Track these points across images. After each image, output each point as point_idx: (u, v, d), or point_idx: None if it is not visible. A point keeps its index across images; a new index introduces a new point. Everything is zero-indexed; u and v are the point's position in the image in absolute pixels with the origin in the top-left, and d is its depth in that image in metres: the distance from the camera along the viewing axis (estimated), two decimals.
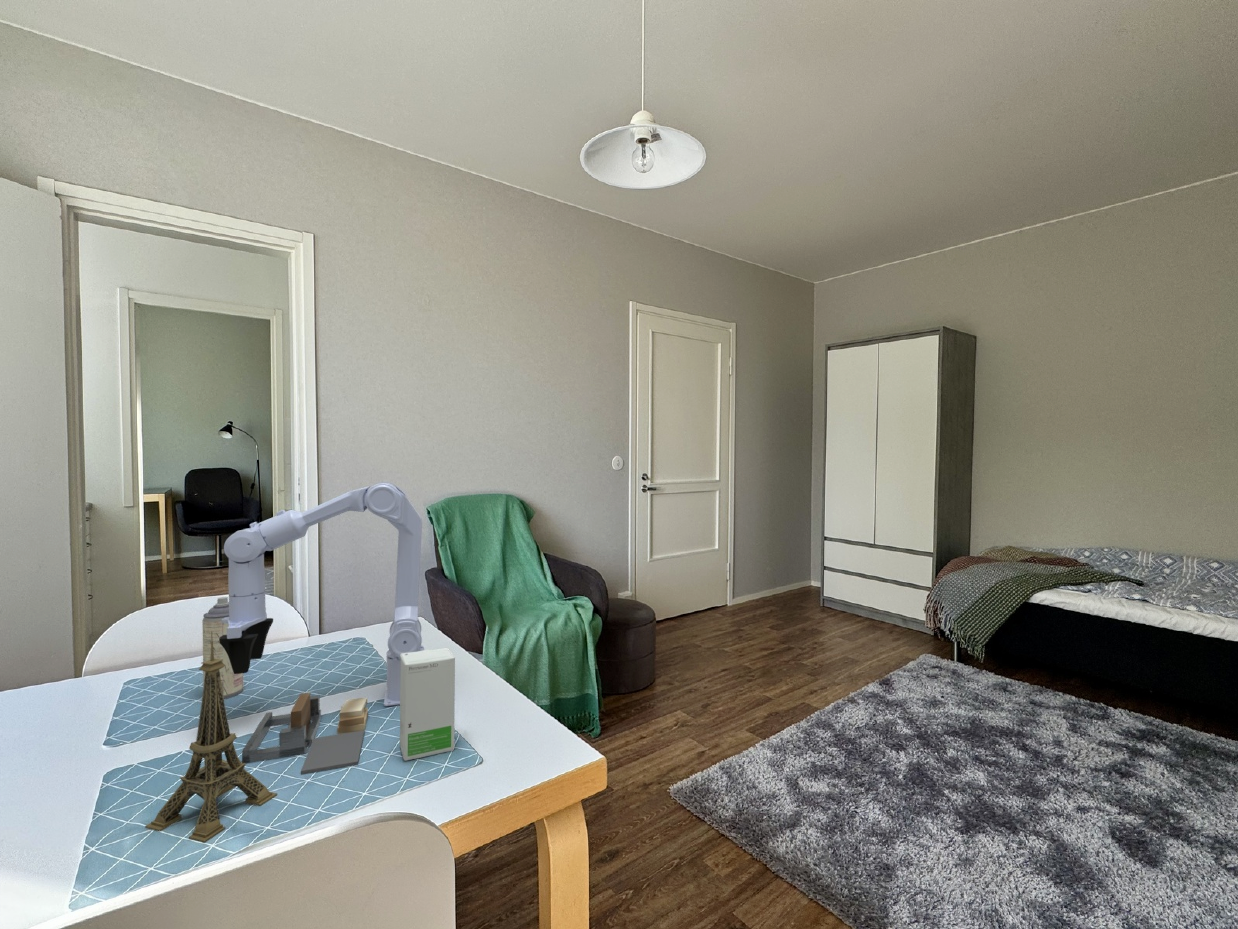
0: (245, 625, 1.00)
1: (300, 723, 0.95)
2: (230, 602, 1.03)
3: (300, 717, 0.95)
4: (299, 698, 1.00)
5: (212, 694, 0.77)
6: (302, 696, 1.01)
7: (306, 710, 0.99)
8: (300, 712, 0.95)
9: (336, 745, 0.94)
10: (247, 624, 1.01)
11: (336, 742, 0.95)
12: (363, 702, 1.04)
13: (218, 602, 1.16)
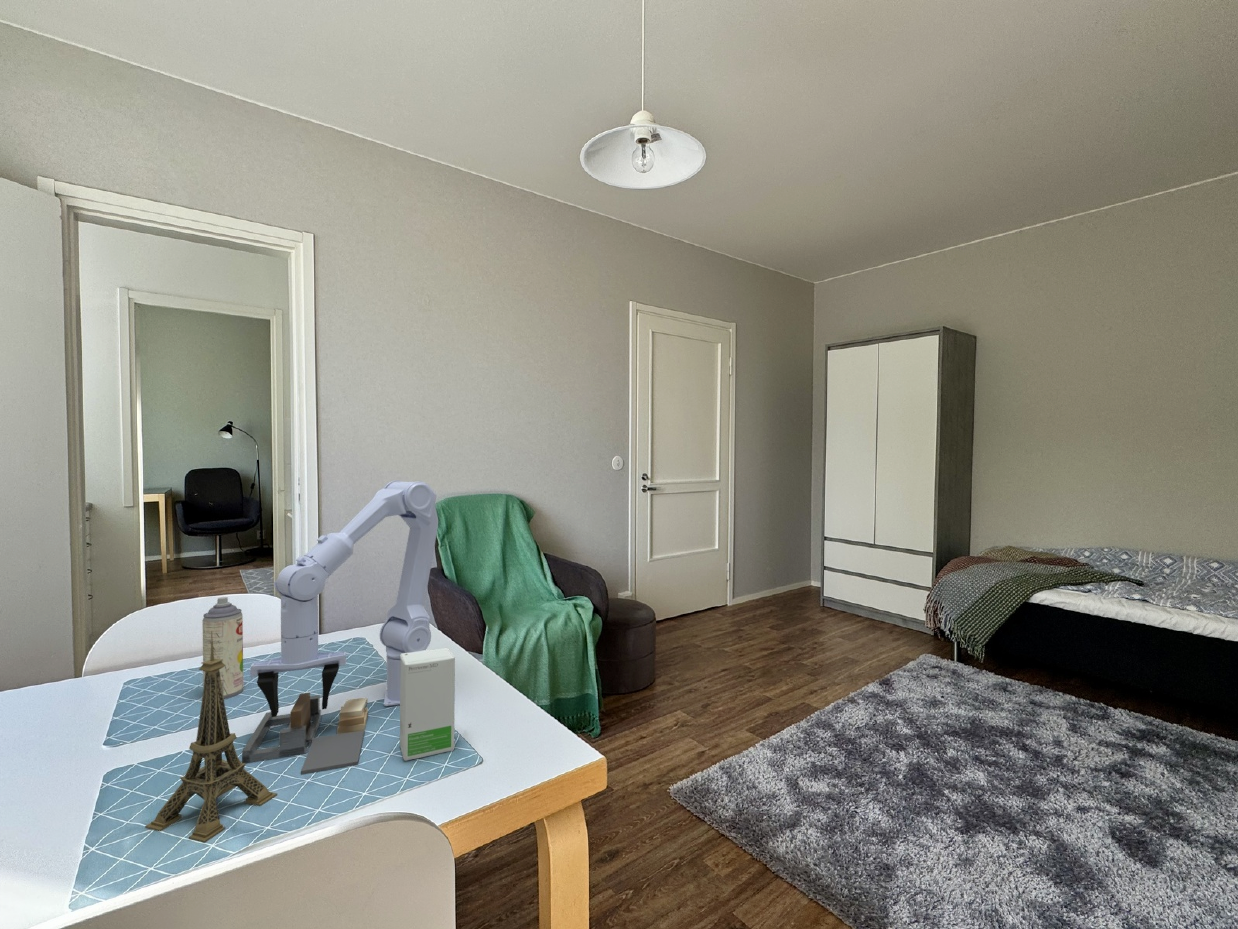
0: (262, 666, 0.95)
1: (300, 723, 0.95)
2: None
3: (300, 717, 0.95)
4: (299, 698, 1.00)
5: (212, 694, 0.77)
6: (302, 696, 1.01)
7: (306, 710, 0.99)
8: (300, 712, 0.95)
9: (336, 745, 0.94)
10: (266, 666, 0.96)
11: (336, 742, 0.95)
12: (363, 702, 1.04)
13: (218, 602, 1.16)
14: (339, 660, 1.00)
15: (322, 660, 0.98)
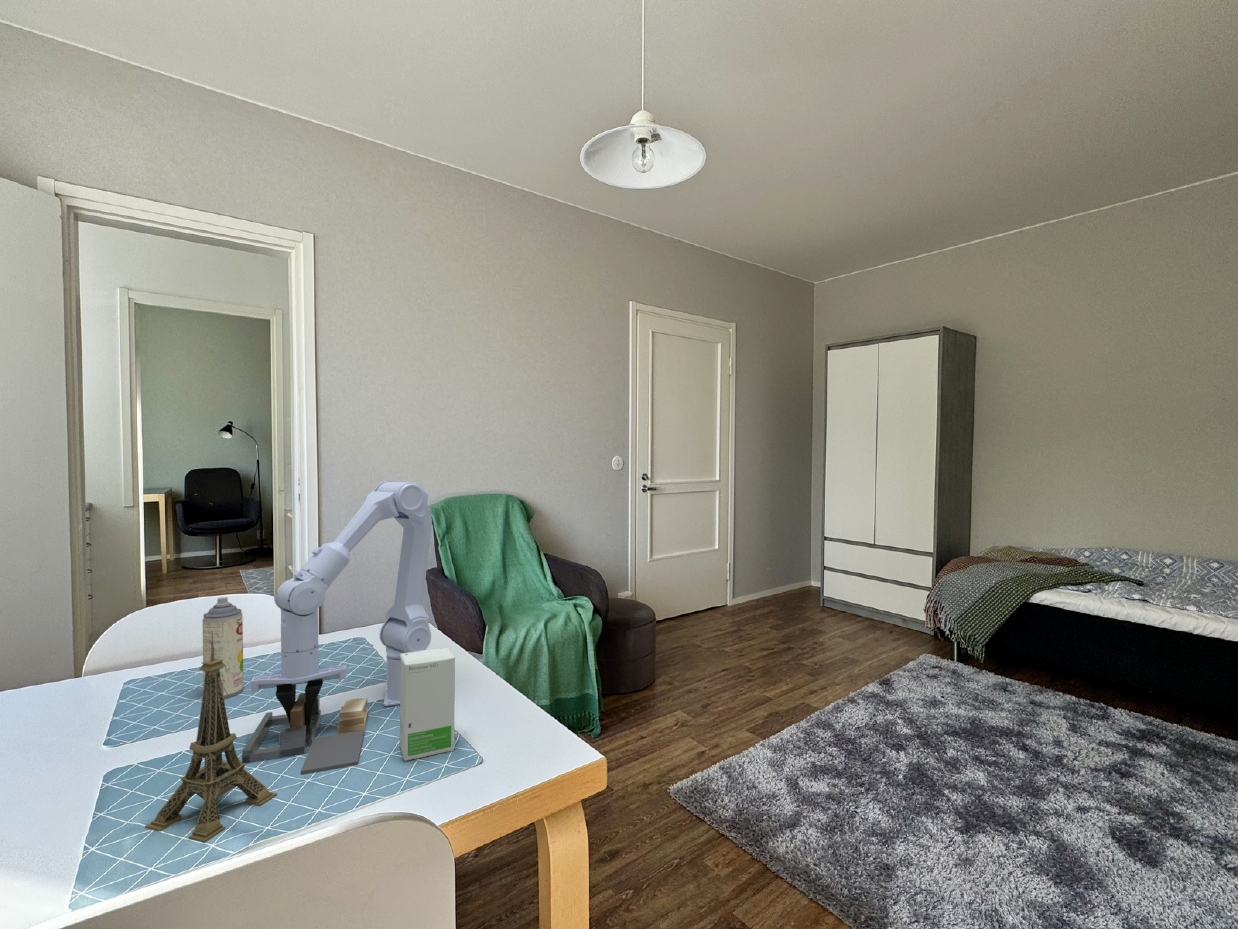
0: (263, 681, 0.96)
1: (300, 723, 0.95)
2: None
3: (300, 717, 0.95)
4: (299, 698, 1.00)
5: (212, 694, 0.77)
6: (302, 696, 1.01)
7: None
8: (300, 712, 0.95)
9: (336, 745, 0.94)
10: (266, 680, 0.96)
11: (336, 742, 0.95)
12: (363, 702, 1.04)
13: (218, 602, 1.16)
14: (339, 674, 1.00)
15: (322, 674, 0.98)
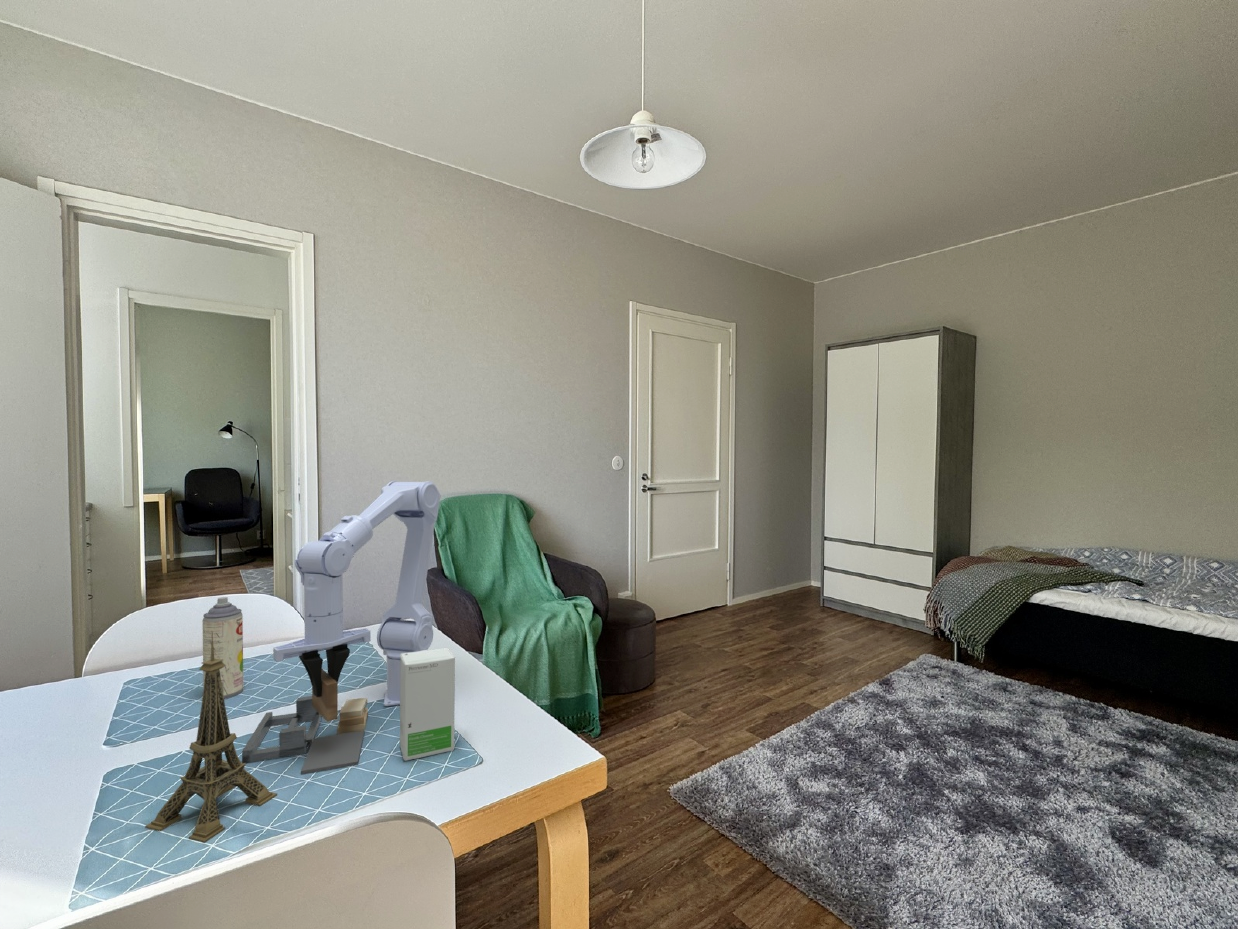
0: (290, 649, 0.90)
1: (336, 695, 0.92)
2: None
3: (336, 689, 0.92)
4: None
5: (212, 694, 0.77)
6: None
7: None
8: (336, 684, 0.92)
9: (336, 745, 0.94)
10: (294, 648, 0.90)
11: (336, 742, 0.95)
12: (363, 702, 1.04)
13: (218, 602, 1.16)
14: (365, 636, 0.98)
15: (351, 637, 0.96)
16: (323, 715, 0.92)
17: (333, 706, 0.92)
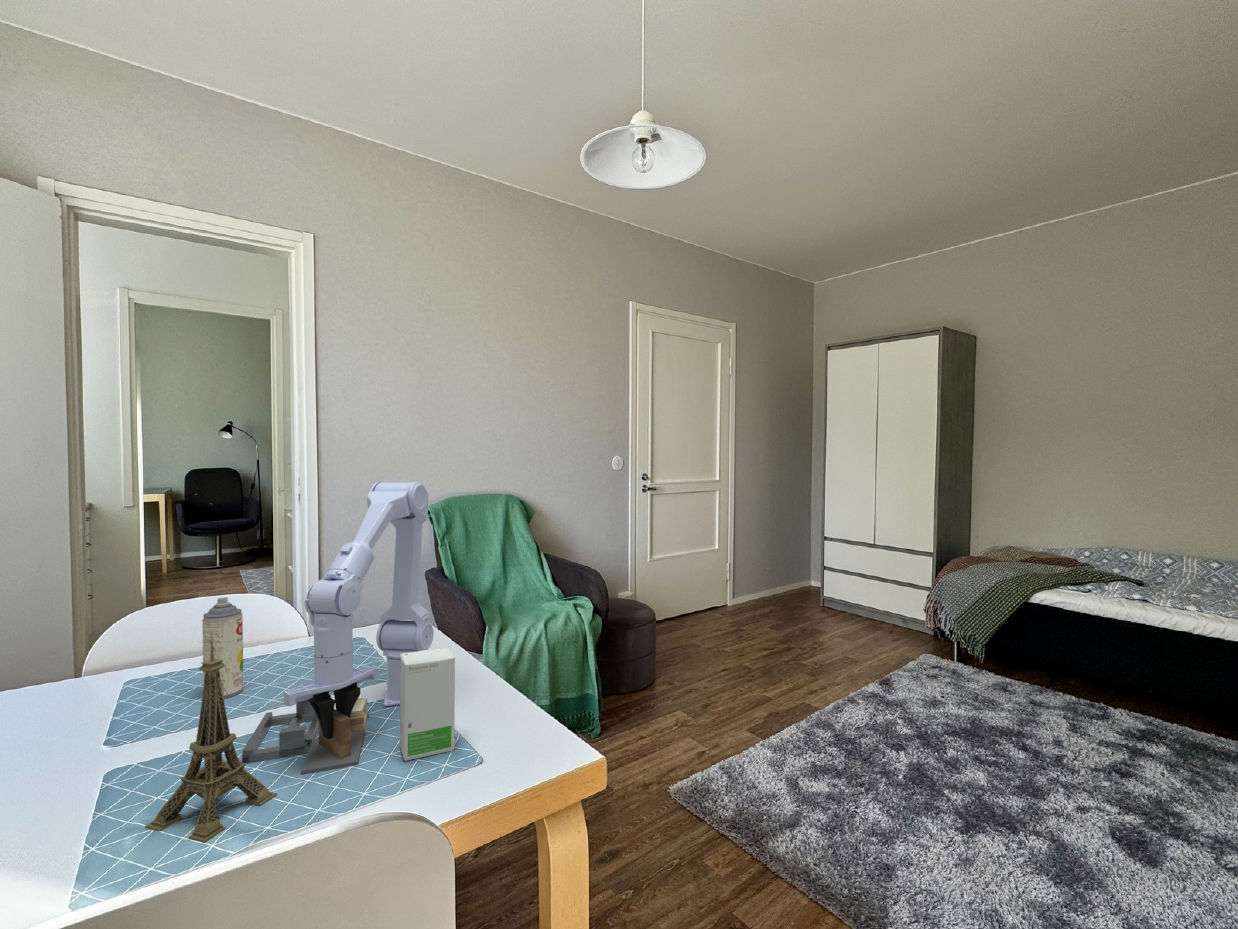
0: (302, 692, 0.88)
1: (349, 731, 0.91)
2: None
3: (349, 725, 0.91)
4: None
5: (212, 694, 0.77)
6: None
7: None
8: (349, 720, 0.91)
9: None
10: (306, 691, 0.88)
11: None
12: (363, 702, 1.04)
13: (218, 602, 1.16)
14: (374, 674, 0.97)
15: (361, 676, 0.95)
16: (335, 752, 0.91)
17: (346, 742, 0.91)
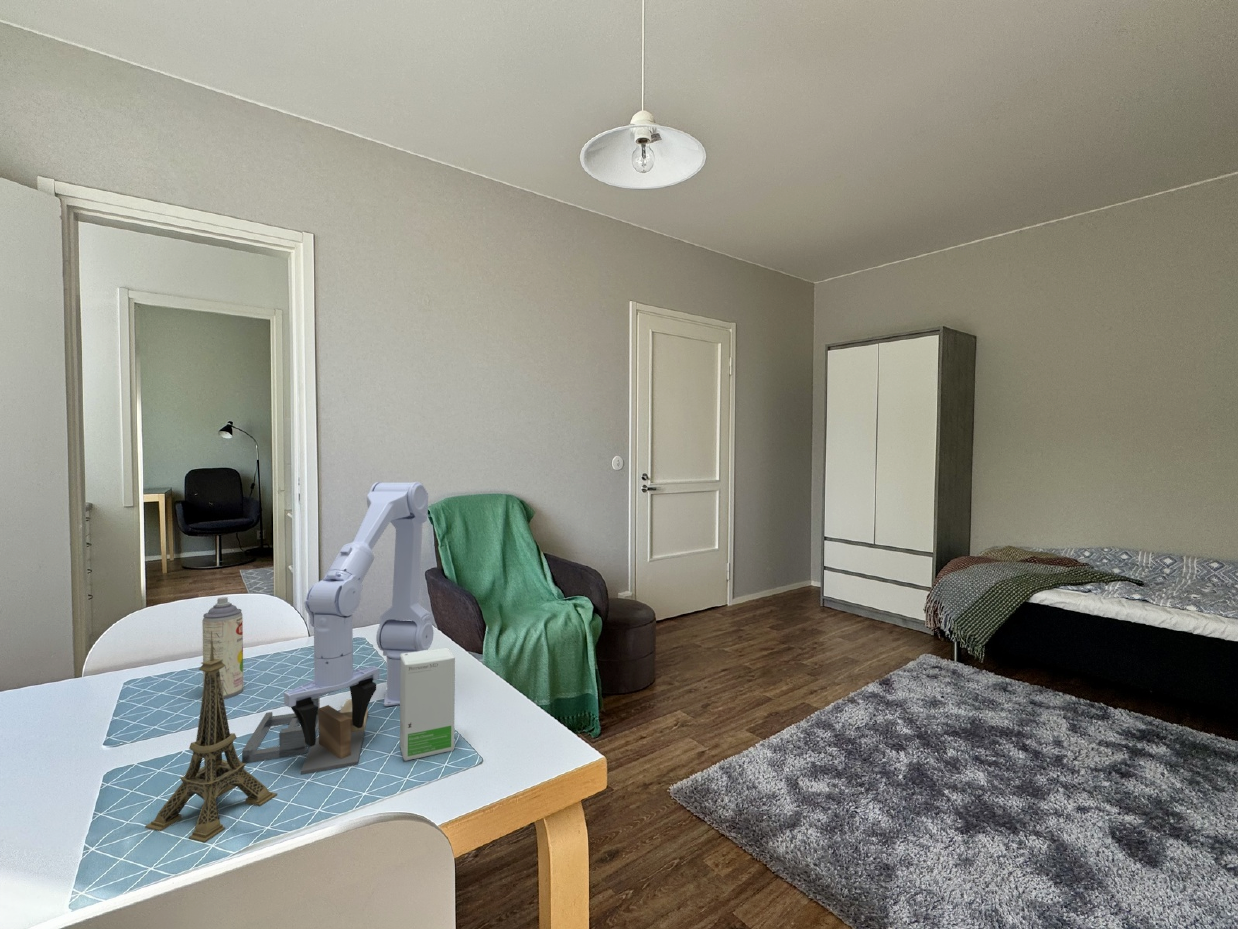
0: (302, 693, 0.88)
1: (349, 731, 0.91)
2: None
3: (349, 725, 0.91)
4: (325, 711, 0.94)
5: (212, 694, 0.77)
6: (326, 709, 0.94)
7: None
8: (349, 720, 0.91)
9: None
10: (306, 692, 0.88)
11: None
12: None
13: (218, 602, 1.16)
14: (374, 674, 0.97)
15: (361, 676, 0.95)
16: (335, 752, 0.91)
17: (346, 742, 0.91)
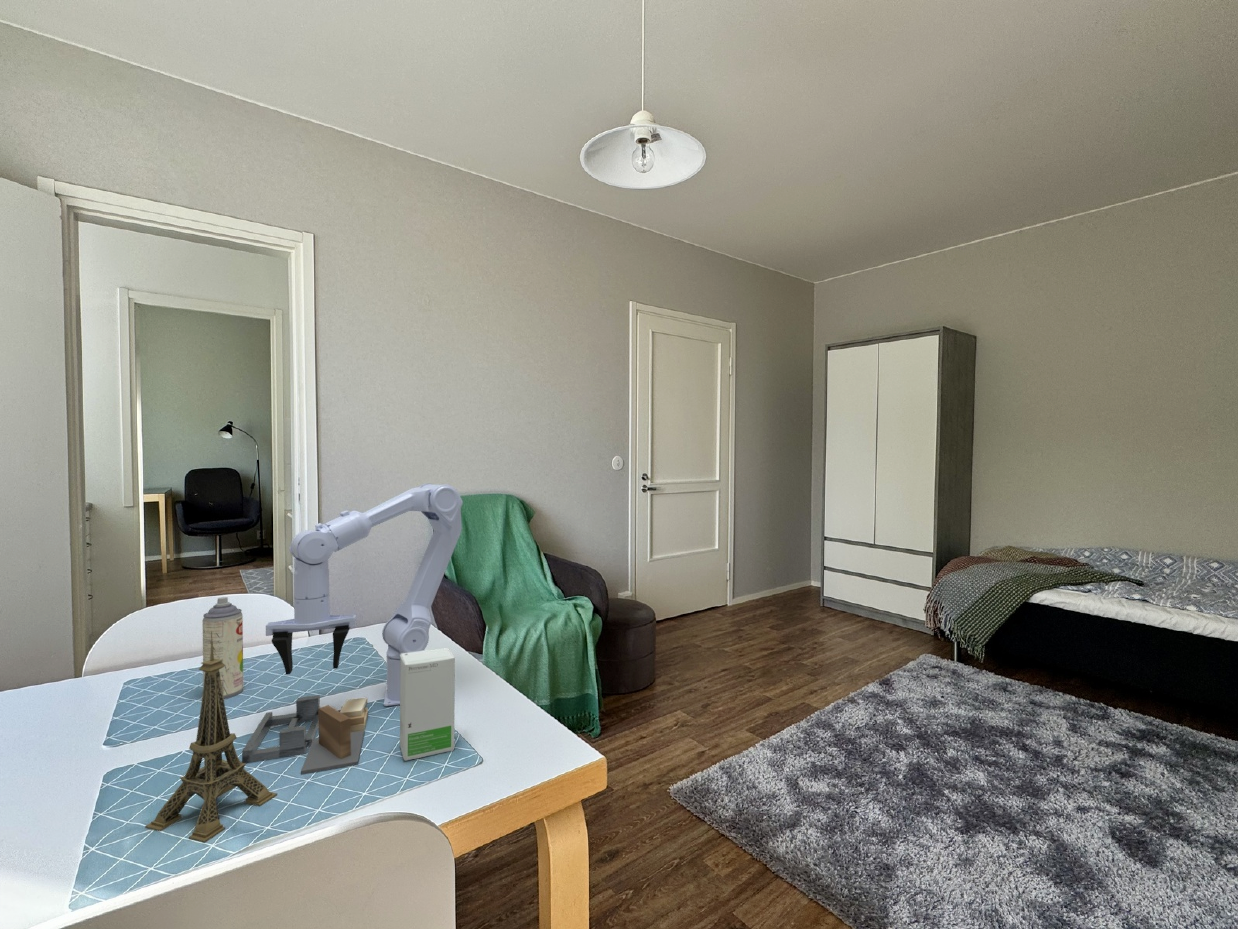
0: (277, 626, 1.00)
1: (349, 731, 0.91)
2: None
3: (349, 725, 0.91)
4: (325, 711, 0.94)
5: (212, 694, 0.77)
6: (326, 709, 0.94)
7: None
8: (349, 720, 0.91)
9: None
10: (280, 625, 1.00)
11: None
12: (363, 702, 1.04)
13: (218, 602, 1.16)
14: (349, 622, 1.05)
15: (333, 621, 1.03)
16: (335, 752, 0.91)
17: (346, 742, 0.91)
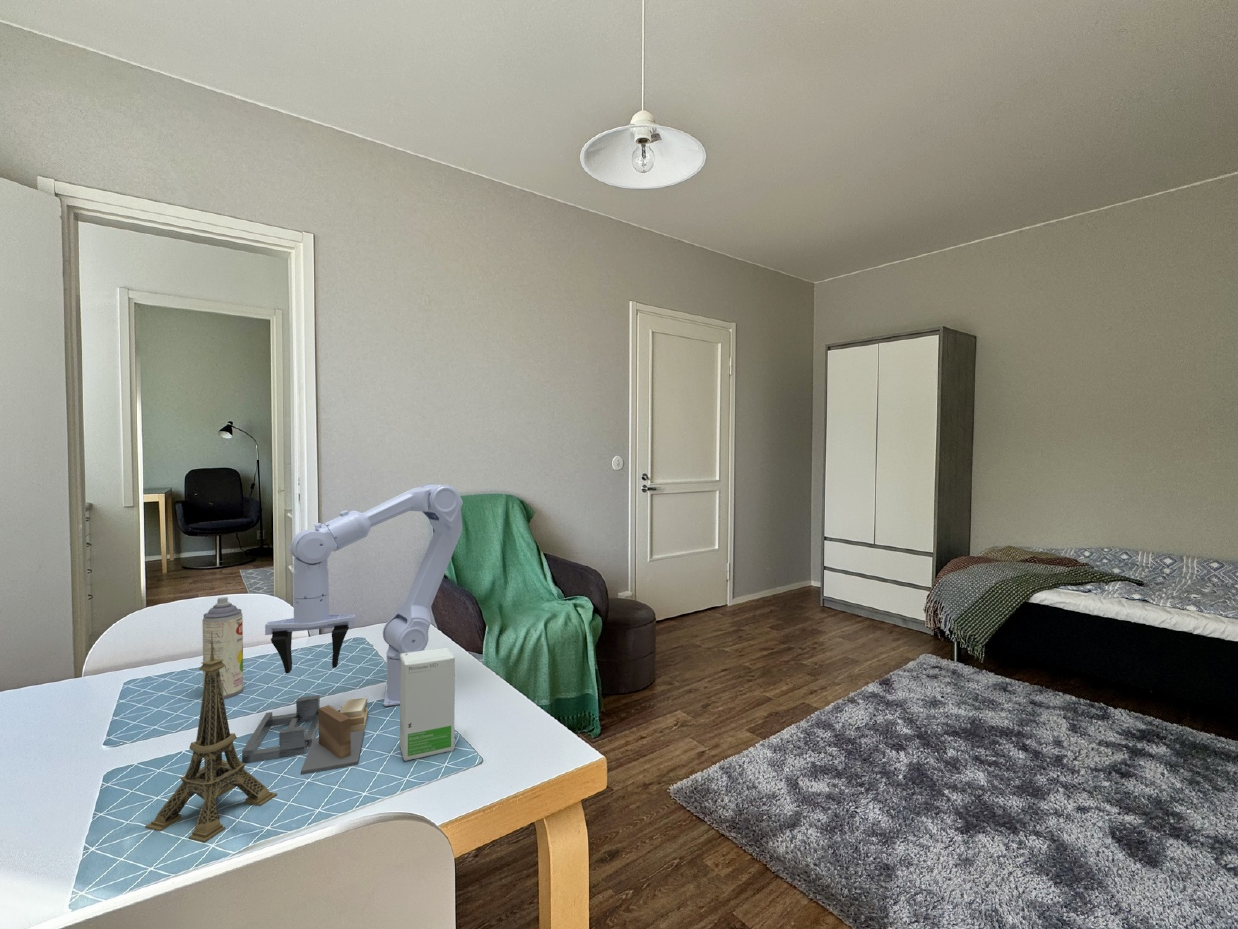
0: (276, 625, 1.01)
1: (349, 731, 0.91)
2: None
3: (349, 725, 0.91)
4: (325, 711, 0.94)
5: (212, 694, 0.77)
6: (326, 709, 0.94)
7: None
8: (349, 720, 0.91)
9: None
10: (279, 625, 1.01)
11: None
12: (363, 702, 1.04)
13: (218, 602, 1.16)
14: (348, 621, 1.05)
15: (332, 621, 1.03)
16: (335, 752, 0.91)
17: (346, 742, 0.91)
